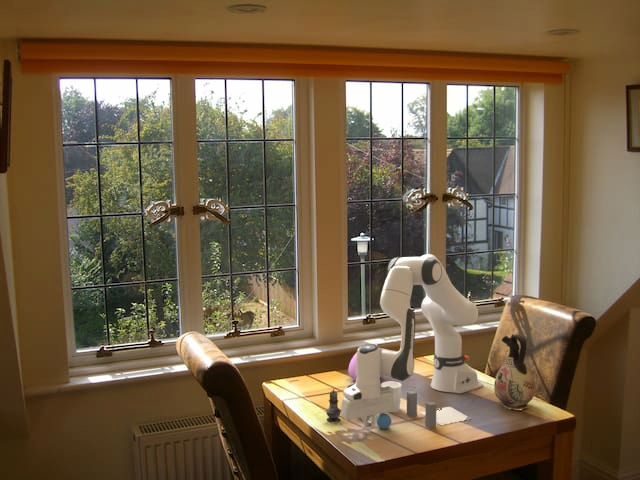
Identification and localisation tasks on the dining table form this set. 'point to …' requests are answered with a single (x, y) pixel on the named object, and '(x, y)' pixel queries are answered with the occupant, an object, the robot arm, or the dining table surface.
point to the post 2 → (430, 415)
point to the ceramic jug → (514, 376)
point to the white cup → (396, 395)
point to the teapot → (354, 367)
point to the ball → (383, 420)
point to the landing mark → (448, 416)
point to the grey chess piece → (333, 408)
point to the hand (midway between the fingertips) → (368, 426)
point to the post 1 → (411, 403)
